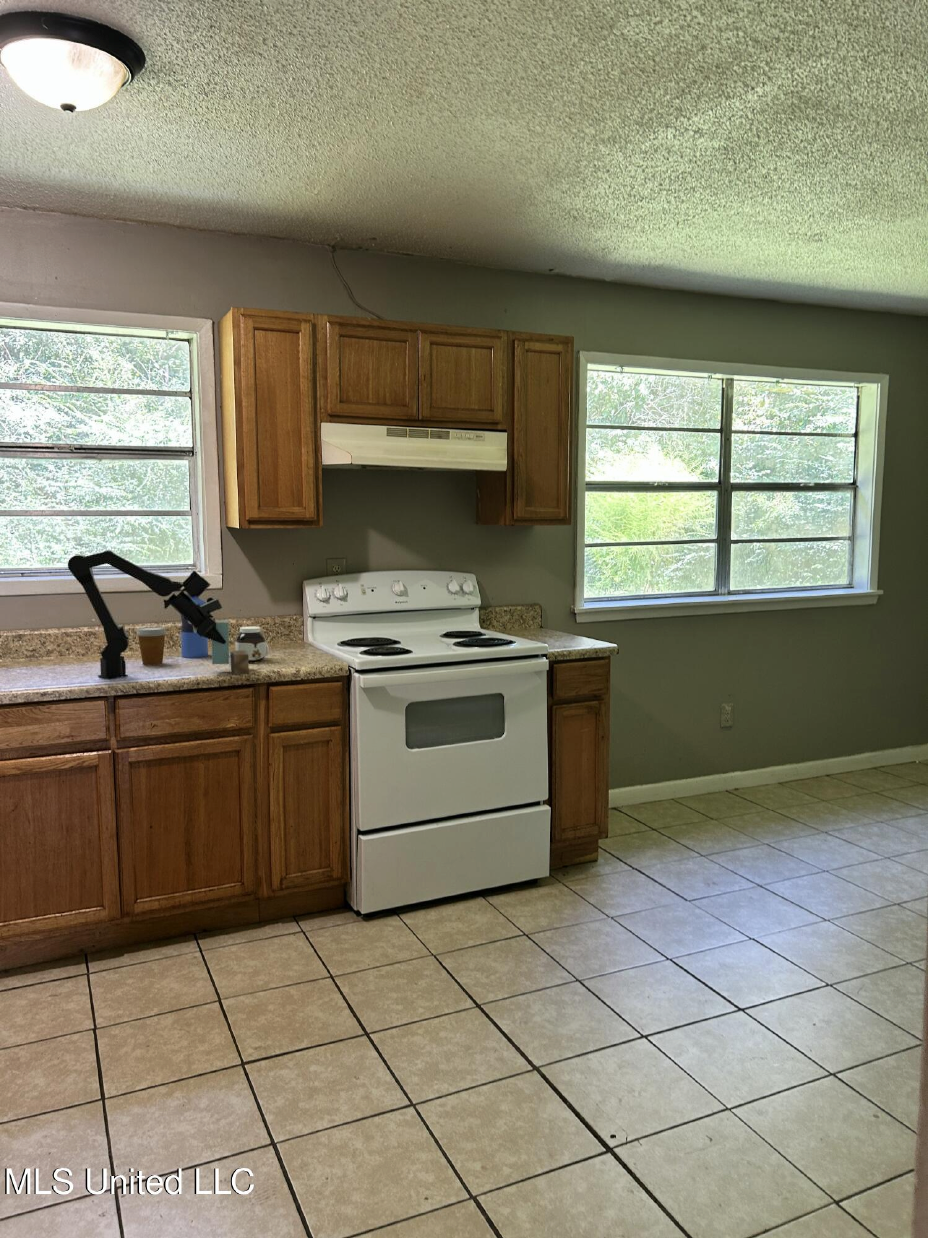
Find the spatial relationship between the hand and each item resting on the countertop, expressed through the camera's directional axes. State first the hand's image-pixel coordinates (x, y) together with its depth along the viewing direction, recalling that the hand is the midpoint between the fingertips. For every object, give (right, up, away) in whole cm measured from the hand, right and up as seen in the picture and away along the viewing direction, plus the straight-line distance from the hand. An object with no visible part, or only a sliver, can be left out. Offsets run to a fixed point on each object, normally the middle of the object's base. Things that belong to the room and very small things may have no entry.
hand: (224, 641), depth 294 cm
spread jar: (+4, -7, +24) cm, 25 cm away
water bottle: (-19, -6, +33) cm, 38 cm away
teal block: (-1, -7, 0) cm, 7 cm away
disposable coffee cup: (-28, -8, +16) cm, 33 cm away
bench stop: (+4, -9, +2) cm, 11 cm away
